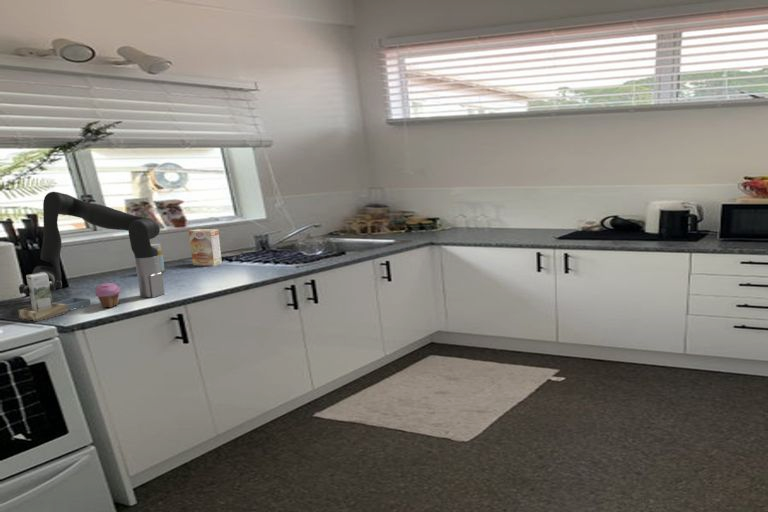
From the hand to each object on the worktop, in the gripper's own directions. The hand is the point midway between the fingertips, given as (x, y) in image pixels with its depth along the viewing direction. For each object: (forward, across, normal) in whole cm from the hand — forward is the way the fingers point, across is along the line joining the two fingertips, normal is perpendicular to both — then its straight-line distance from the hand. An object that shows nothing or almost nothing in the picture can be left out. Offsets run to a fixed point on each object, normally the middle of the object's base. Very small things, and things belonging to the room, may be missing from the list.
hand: (38, 290), depth 198 cm
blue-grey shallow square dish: (-10, +9, +11) cm, 17 cm away
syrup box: (-2, 0, +9) cm, 9 cm away
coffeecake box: (-69, +72, +12) cm, 100 cm away
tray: (-2, 0, +11) cm, 11 cm away
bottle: (-63, +46, +12) cm, 79 cm away
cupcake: (0, +23, +11) cm, 25 cm away
